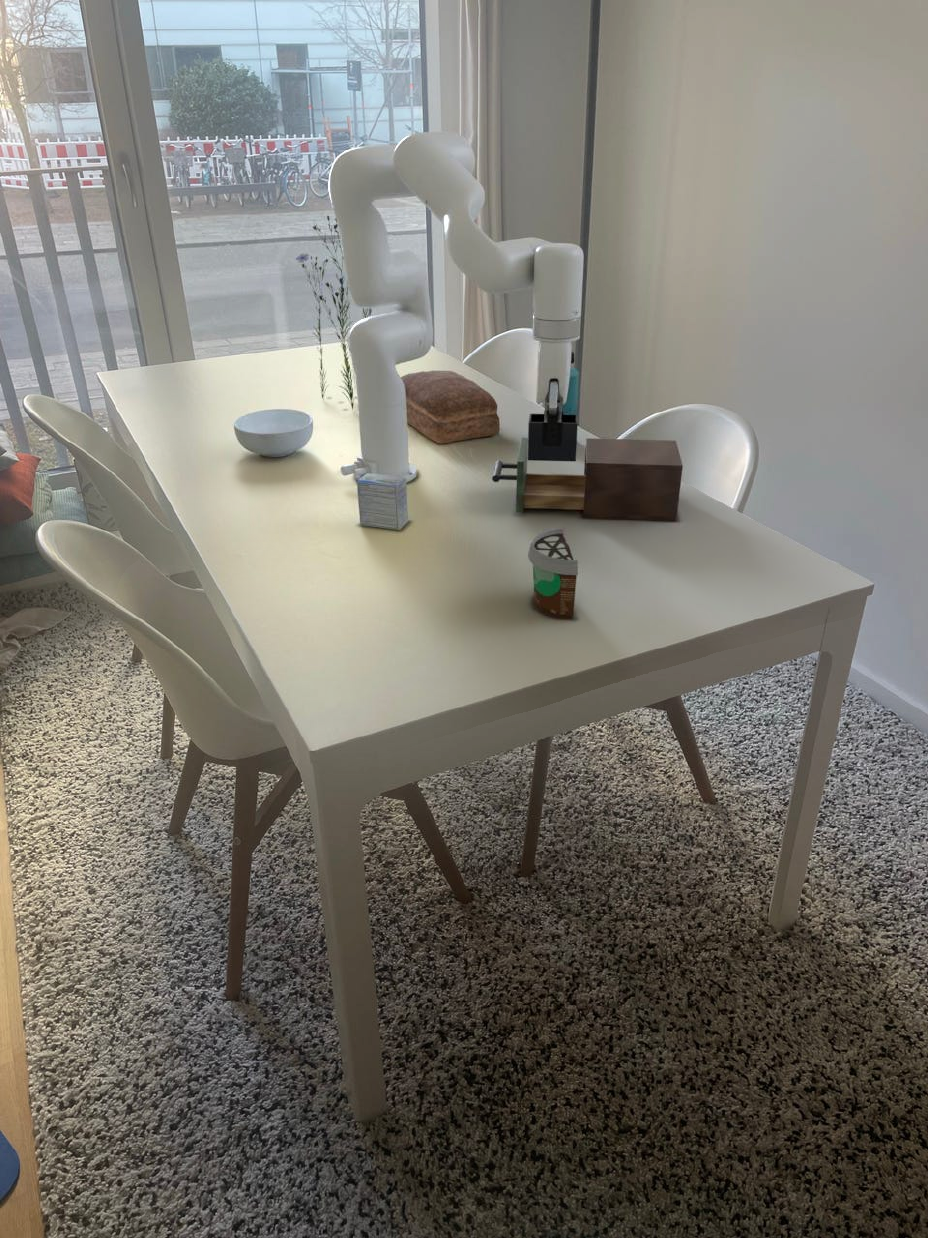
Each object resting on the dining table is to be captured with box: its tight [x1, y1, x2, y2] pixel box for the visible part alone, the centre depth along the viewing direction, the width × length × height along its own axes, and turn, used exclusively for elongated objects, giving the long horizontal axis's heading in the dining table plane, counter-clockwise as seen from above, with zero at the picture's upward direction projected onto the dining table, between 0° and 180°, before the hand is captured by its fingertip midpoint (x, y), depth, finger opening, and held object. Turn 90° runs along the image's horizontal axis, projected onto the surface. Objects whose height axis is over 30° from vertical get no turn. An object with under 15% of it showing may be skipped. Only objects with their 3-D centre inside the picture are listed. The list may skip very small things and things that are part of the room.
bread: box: [400, 370, 501, 444], centre depth 212 cm, size 17×29×11 cm, turn 26°
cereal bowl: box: [233, 408, 314, 458], centre depth 197 cm, size 17×17×7 cm
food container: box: [527, 527, 579, 620], centre depth 135 cm, size 12×6×10 cm, turn 5°
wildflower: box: [295, 214, 373, 411], centre depth 219 cm, size 22×23×45 cm
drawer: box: [491, 437, 586, 513], centre depth 169 cm, size 22×13×10 cm, turn 84°
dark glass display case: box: [527, 413, 579, 462], centre depth 151 cm, size 8×5×6 cm, turn 84°
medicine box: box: [356, 473, 409, 531], centre depth 162 cm, size 8×4×9 cm, turn 71°
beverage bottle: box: [562, 351, 580, 414], centre depth 197 cm, size 6×7×20 cm
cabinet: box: [582, 437, 684, 522], centre depth 168 cm, size 17×14×11 cm
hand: (552, 438), depth 152 cm, fingers closed on dark glass display case, 5 cm apart
